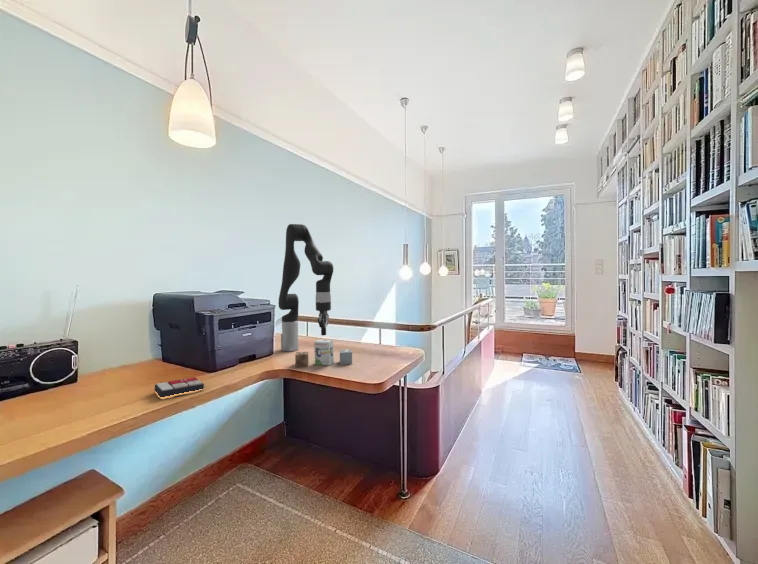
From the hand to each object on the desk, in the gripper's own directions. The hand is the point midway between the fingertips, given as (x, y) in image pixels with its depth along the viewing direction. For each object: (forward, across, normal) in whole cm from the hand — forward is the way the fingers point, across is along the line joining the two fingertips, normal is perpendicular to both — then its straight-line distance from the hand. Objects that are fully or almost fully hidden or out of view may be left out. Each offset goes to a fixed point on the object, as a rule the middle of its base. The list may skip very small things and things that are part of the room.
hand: (323, 335), depth 176 cm
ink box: (+15, 0, 0) cm, 15 cm away
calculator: (+15, +43, -47) cm, 66 cm away
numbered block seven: (+15, -3, +11) cm, 18 cm away
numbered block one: (+15, +3, -10) cm, 18 cm away
